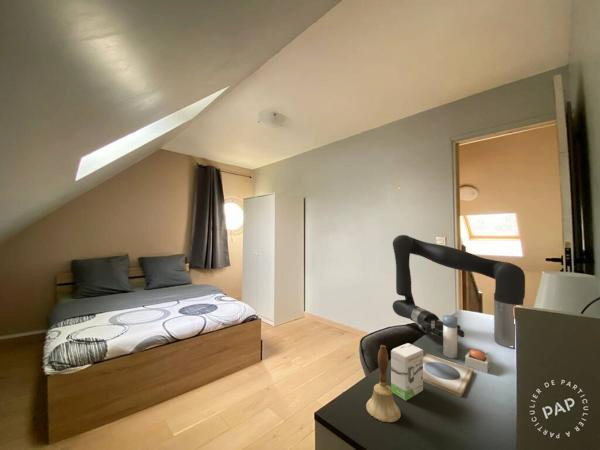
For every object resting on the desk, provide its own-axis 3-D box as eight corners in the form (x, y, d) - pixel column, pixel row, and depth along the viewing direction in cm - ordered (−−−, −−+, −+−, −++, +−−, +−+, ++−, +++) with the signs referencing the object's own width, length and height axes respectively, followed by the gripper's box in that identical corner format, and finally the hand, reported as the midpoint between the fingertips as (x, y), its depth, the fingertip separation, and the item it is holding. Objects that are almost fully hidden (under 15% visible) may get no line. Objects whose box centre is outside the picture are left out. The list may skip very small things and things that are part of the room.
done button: (471, 353, 86) (471, 347, 86) (485, 357, 83) (485, 351, 83) (469, 357, 83) (469, 351, 83) (483, 361, 80) (483, 355, 80)
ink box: (406, 401, 65) (406, 357, 65) (390, 391, 69) (390, 349, 69) (423, 390, 69) (423, 349, 70) (407, 381, 73) (408, 342, 74)
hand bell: (359, 402, 64) (360, 341, 64) (385, 396, 67) (386, 337, 67) (379, 426, 56) (380, 356, 57) (408, 418, 59) (408, 351, 59)
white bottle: (452, 352, 92) (452, 315, 92) (460, 358, 87) (460, 319, 88) (440, 352, 92) (440, 314, 92) (447, 358, 87) (447, 319, 88)
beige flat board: (427, 356, 89) (427, 353, 89) (473, 372, 79) (473, 368, 79) (408, 375, 77) (409, 371, 77) (461, 397, 67) (461, 392, 67)
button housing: (469, 359, 87) (468, 350, 87) (490, 366, 83) (490, 357, 83) (465, 365, 83) (465, 356, 83) (487, 373, 78) (487, 363, 79)
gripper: (409, 310, 104) (434, 325, 88) (440, 309, 106) (470, 324, 89) (409, 328, 104) (434, 346, 88) (439, 327, 105) (470, 344, 89)
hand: (452, 334), depth 89 cm, fingers open, 8 cm apart
